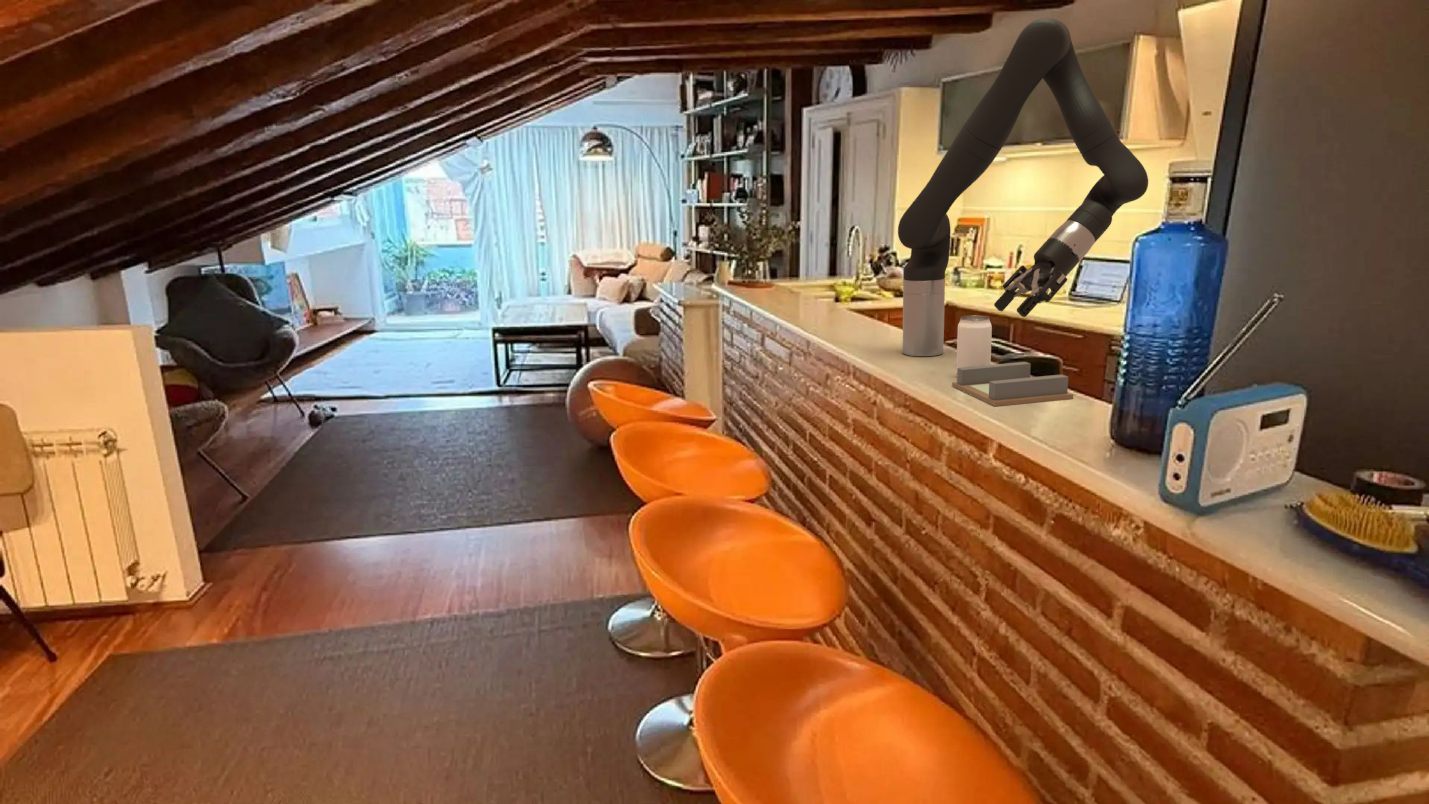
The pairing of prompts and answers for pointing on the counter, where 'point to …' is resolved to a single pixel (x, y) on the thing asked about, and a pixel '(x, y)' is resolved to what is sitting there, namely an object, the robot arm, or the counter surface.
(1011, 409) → the counter surface
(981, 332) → the can
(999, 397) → the twin rail tray
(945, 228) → the robot arm
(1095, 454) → the counter surface
